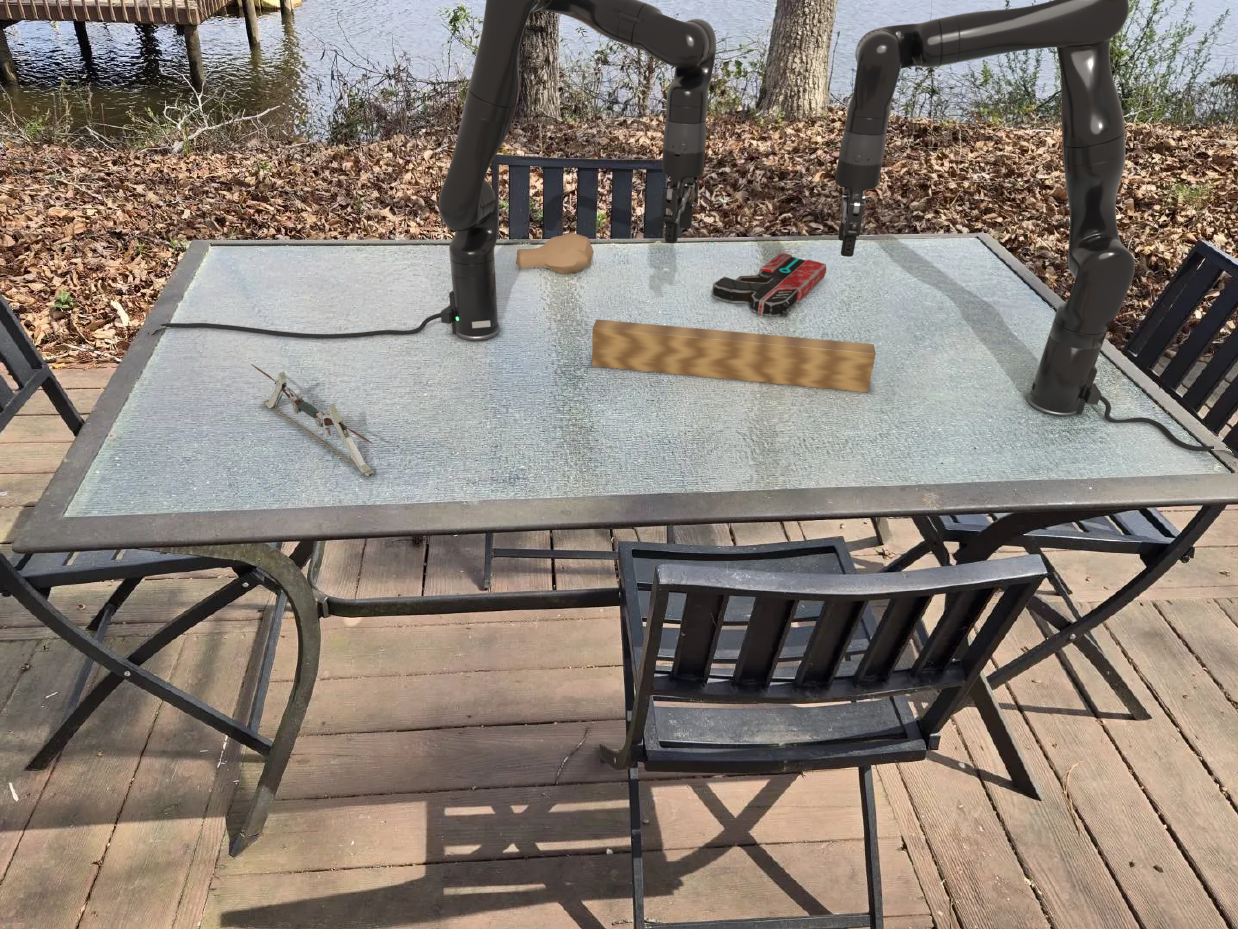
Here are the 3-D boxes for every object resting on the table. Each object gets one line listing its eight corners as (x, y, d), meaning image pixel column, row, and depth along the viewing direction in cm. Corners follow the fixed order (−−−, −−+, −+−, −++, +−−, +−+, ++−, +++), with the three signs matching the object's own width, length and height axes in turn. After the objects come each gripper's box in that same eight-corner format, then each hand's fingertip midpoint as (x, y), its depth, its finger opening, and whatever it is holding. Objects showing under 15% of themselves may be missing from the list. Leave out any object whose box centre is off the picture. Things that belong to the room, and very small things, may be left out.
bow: (384, 479, 145) (376, 427, 139) (374, 483, 144) (366, 432, 138) (264, 397, 166) (253, 350, 161) (255, 401, 165) (244, 353, 160)
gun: (708, 284, 207) (784, 305, 199) (760, 245, 229) (831, 262, 221) (706, 302, 209) (781, 323, 201) (758, 261, 231) (828, 278, 223)
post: (592, 366, 181) (592, 328, 176) (595, 356, 184) (596, 319, 180) (867, 392, 174) (875, 353, 170) (865, 382, 178) (873, 343, 173)
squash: (595, 277, 221) (590, 246, 215) (517, 285, 222) (510, 253, 216) (596, 255, 229) (591, 224, 223) (520, 262, 230) (514, 231, 224)
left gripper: (676, 134, 162) (671, 221, 171) (650, 152, 151) (646, 243, 160) (715, 139, 160) (708, 226, 169) (692, 157, 149) (685, 250, 158)
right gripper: (886, 169, 146) (869, 263, 155) (879, 148, 158) (863, 236, 167) (841, 166, 147) (826, 259, 156) (836, 145, 159) (823, 233, 168)
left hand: (678, 235), depth 164 cm, fingers open, 8 cm apart
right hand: (845, 247), depth 161 cm, fingers open, 8 cm apart
